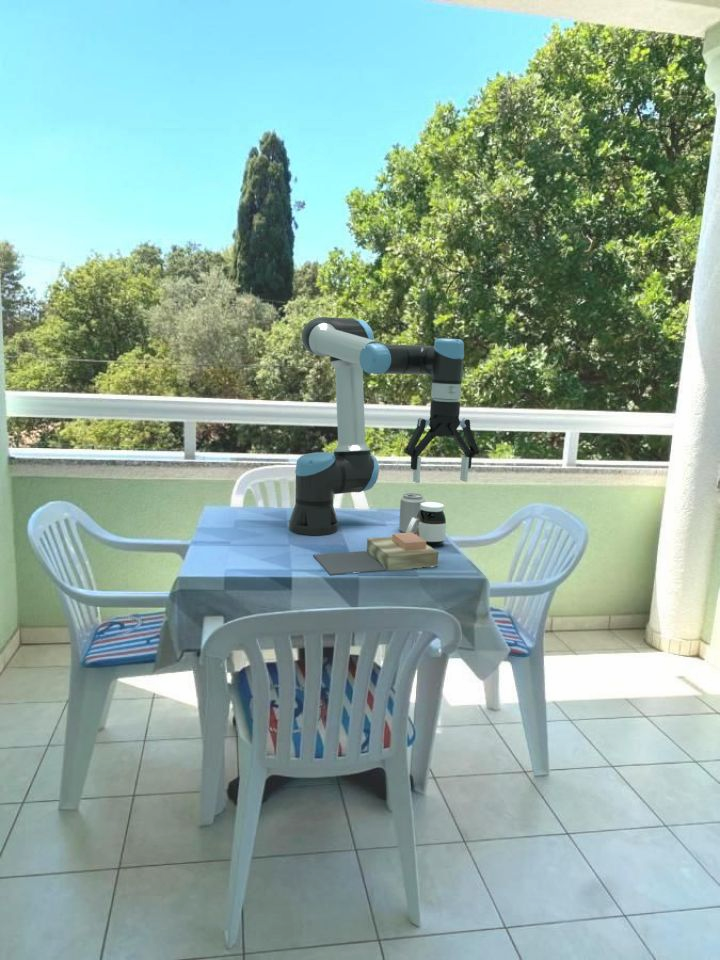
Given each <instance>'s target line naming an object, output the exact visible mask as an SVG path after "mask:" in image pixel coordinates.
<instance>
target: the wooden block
mask: <svg viewBox="0 0 720 960" xmlns="http://www.w3.org/2000/svg"><path fill="white" fill-rule="evenodd" d="M366 541H367V542H366V552H367V553H368V554H369V555H370V556H371V557H373V558H374V559H375V560H376V561H377V562H378V563H380V564H381V565H382V566H384V567H385V569H387V570H386V571H388V572H390V571H389V570H392V571H402V570H403V571H404V570H413V569H412V568H417V569H423V568H422V567H429V568H432V567H431V566H439V565H438V564H439V551H438V550H436V549H434V548H433V547H432V546H428V545H427V544H426V549H417V550H404V549H403V548H401V547H400V546H399V545H397V544H396V543H395V542H393V541H392V536H385V537H369V538H368V537H367V539H366Z"/></svg>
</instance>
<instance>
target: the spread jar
mask: <svg viewBox="0 0 720 960" xmlns="http://www.w3.org/2000/svg"><path fill="white" fill-rule="evenodd" d="M420 509H421V510H420V511H419V512H418V514H417V519H415V518H412V519H411V521H410V523H409V526H408V528H407V530H406V533H412V531H413V528H414V526H415V524H416V535H417V536H419V537H420V538H422V539H423V540H425V541H426V544H427V545H428V546H430V547H439V546H441V545H443V544H444V542H445V538H446V528H447V519H446V515H445V512H444V509H445V505H444V504H443V503H441V502H435V501H425V502H423V503H421V506H420ZM416 521H417V523H416ZM438 545H439V546H438Z"/></svg>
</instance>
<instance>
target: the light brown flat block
mask: <svg viewBox="0 0 720 960" xmlns="http://www.w3.org/2000/svg"><path fill="white" fill-rule="evenodd" d="M391 537H392V541H393V542H395V543H396V544H397V545H399V546H400V547H401V548H403V549H404V550H417V549H426V541H425V540H423V539H422V538H420V537H419V536H417V535H416V534H414V533H413V532H412V533H403V532H399V533H397V532H396V533H392V536H391Z"/></svg>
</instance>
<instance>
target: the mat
mask: <svg viewBox="0 0 720 960" xmlns="http://www.w3.org/2000/svg"><path fill="white" fill-rule="evenodd" d="M312 556H313V558H314V559H315V560H316V561H317V562H318V563H319V564H320V565H321V567H322V568H323V569H324V570H325V571H326V573H328V574H329V575H330V576H339V575H338V574H342V575H347V574H346V573H353V572H367V573H376V571H379V572H387V571H388V570H387V569H386V568H384V567H383V566H382V565H381V564H380V563H379V562H377V561H376V560H375V559H374V558H373V557H372V556H370V555H369V554H368V553H367V550H360V551H345V552H344V551H343V552H331V553H329V552H328V553H317V554H316V553H314V554H313V555H312Z"/></svg>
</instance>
